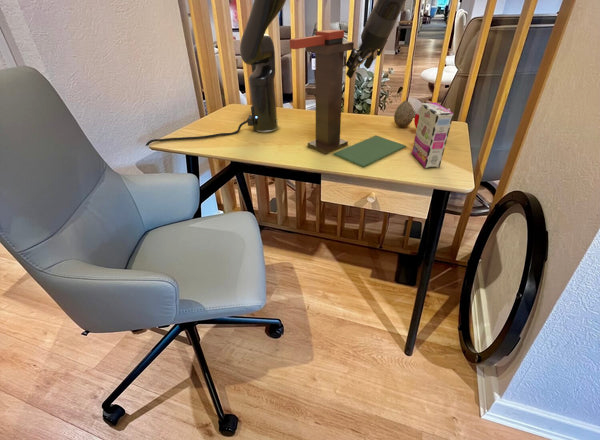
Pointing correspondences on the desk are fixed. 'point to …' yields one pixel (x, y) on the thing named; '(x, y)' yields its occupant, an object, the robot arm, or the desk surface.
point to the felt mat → (369, 151)
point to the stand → (328, 95)
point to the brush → (318, 39)
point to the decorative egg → (404, 114)
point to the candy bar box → (431, 134)
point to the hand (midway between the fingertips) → (357, 71)
